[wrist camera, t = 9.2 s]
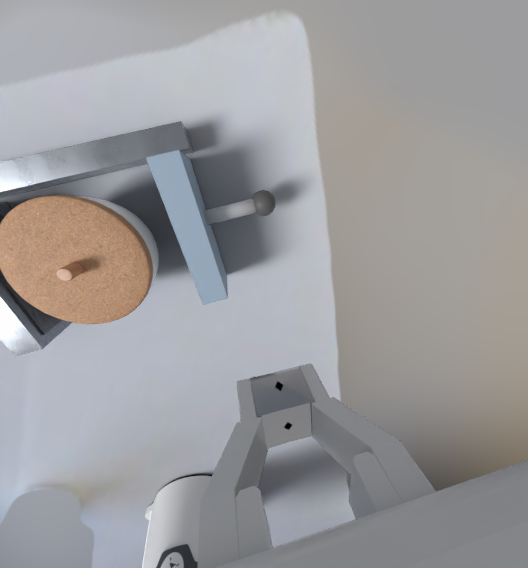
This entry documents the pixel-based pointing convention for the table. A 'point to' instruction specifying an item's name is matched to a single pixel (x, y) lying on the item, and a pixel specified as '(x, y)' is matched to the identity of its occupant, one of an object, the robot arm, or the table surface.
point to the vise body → (56, 170)
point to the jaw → (199, 220)
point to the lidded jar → (78, 257)
